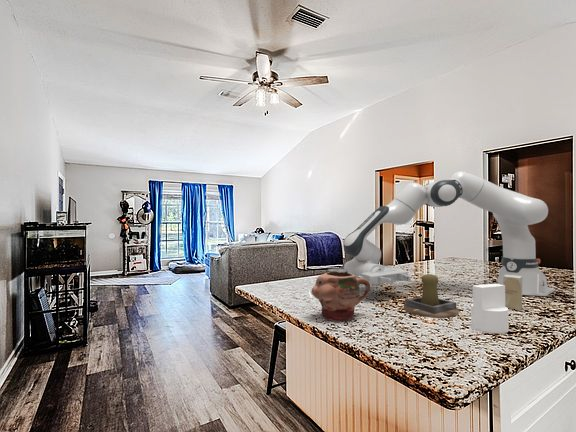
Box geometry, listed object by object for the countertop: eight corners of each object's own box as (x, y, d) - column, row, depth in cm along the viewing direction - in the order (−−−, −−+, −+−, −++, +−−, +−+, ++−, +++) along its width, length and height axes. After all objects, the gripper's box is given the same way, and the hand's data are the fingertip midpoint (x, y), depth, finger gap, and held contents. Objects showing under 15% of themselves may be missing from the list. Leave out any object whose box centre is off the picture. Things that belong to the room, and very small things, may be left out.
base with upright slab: (491, 335, 86) (490, 290, 86) (463, 324, 94) (463, 283, 94) (516, 331, 88) (516, 287, 88) (487, 321, 97) (487, 281, 97)
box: (502, 307, 111) (502, 275, 111) (504, 305, 114) (504, 274, 114) (521, 310, 107) (520, 277, 107) (523, 308, 110) (522, 275, 110)
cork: (442, 309, 106) (442, 276, 106) (423, 309, 107) (422, 276, 107) (437, 304, 112) (436, 273, 112) (418, 304, 113) (418, 273, 113)
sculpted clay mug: (358, 308, 112) (358, 268, 112) (379, 318, 101) (379, 274, 101) (305, 314, 106) (305, 272, 106) (322, 326, 94) (321, 278, 94)
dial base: (425, 301, 121) (425, 293, 121) (469, 312, 106) (469, 303, 106) (393, 307, 112) (393, 299, 112) (436, 321, 98) (436, 311, 98)
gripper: (354, 268, 127) (380, 274, 115) (391, 264, 137) (418, 269, 125) (354, 284, 127) (380, 291, 115) (391, 279, 137) (418, 285, 125)
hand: (400, 280), depth 120 cm, fingers open, 8 cm apart
